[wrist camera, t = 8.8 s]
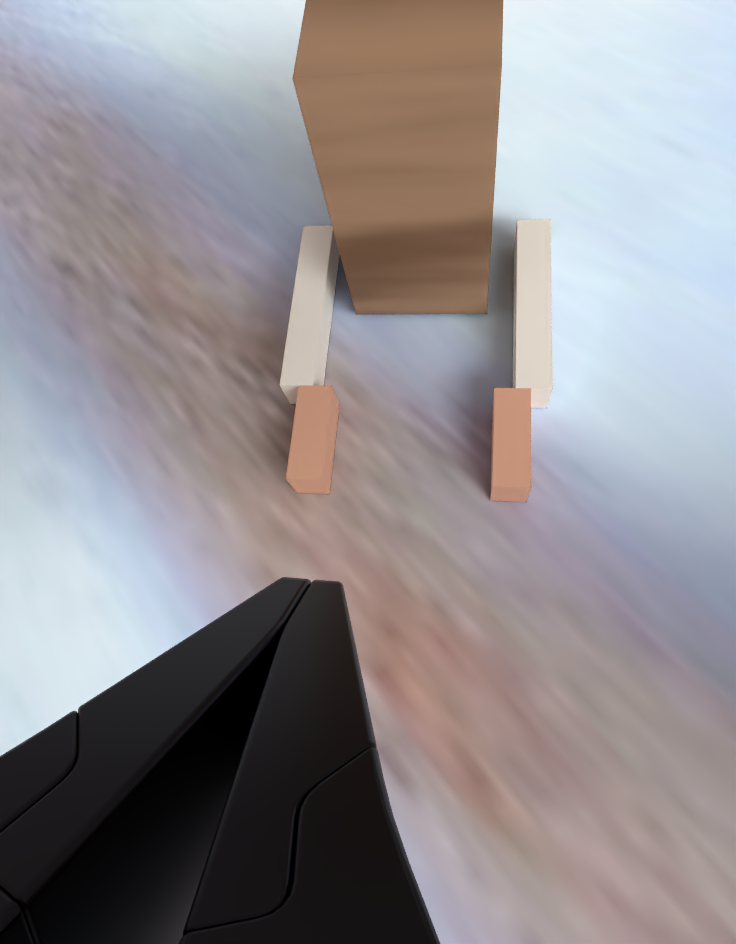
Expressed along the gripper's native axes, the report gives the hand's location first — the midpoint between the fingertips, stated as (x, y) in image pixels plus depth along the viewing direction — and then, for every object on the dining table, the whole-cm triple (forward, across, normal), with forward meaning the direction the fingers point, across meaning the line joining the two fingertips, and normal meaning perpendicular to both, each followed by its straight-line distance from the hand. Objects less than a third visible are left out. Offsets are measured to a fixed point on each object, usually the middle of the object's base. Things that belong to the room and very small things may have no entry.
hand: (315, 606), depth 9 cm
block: (+20, 0, -3) cm, 20 cm away
